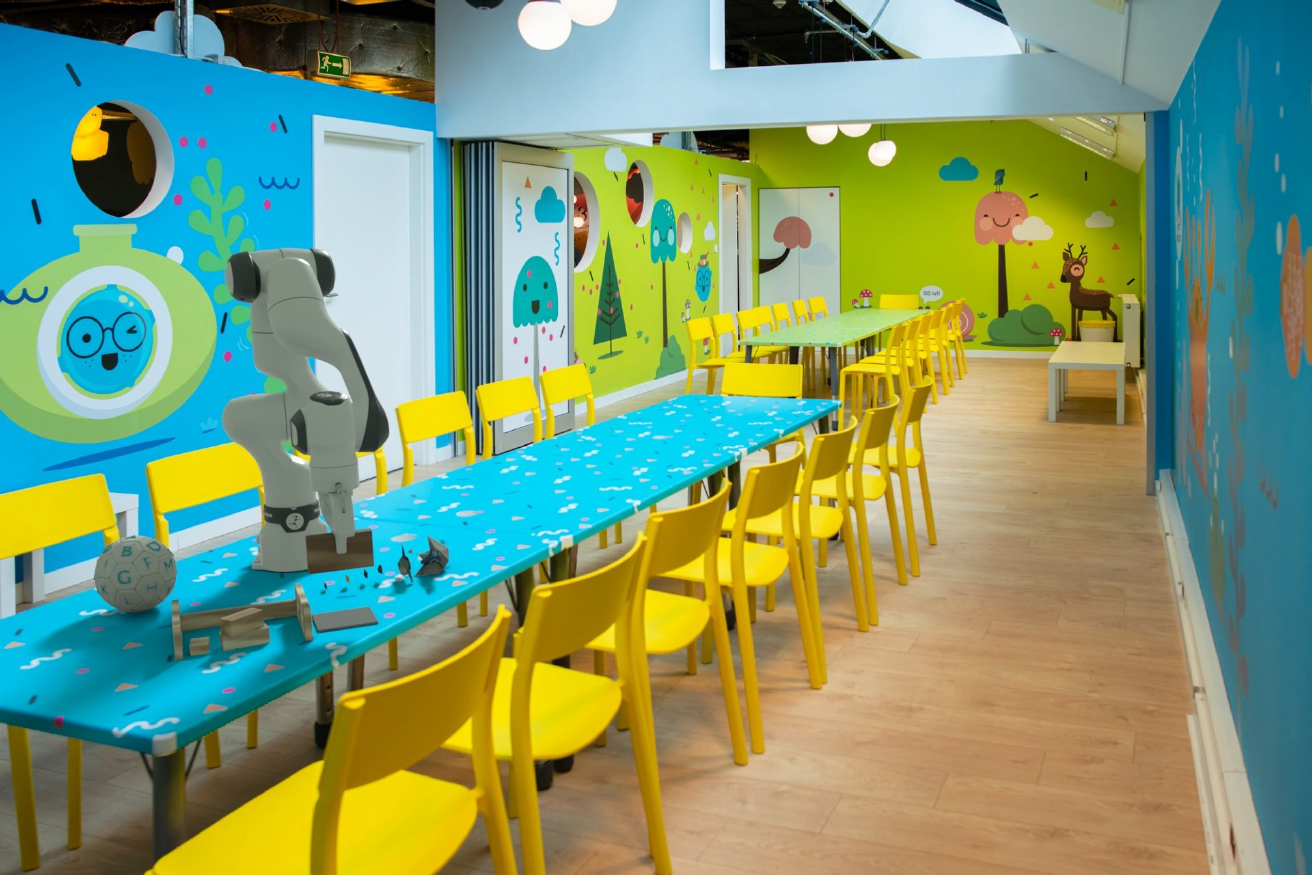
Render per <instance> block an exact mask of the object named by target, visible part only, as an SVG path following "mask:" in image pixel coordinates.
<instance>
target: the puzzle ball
mask: <svg viewBox="0 0 1312 875" xmlns="http://www.w3.org/2000/svg"><path fill="white" fill-rule="evenodd" d="M174 557H175V555H174V554H173V552H172V551H171V549H169V548H168V547H167V546H166V545H165V544H164V543H163V542H162V541H159V540H158V539H156V538H154V537H149V536H147V535H146V536H144V535H135V534H134V535H133V534H132V535H129V536H125V537H122V538H120V539H117V540H115V541H114V542H111V543H109V544H108V545H107V546H106V547H105V548H104V549H103V550H102V552H101V553H100V555H99V556H98V558H97V560H96V564H95V568H94V575H93V581H94V586H95V589H96V593H97V594H98V595H99V596H100V597H101V599H102V600H103V601H104V602H105V603H106V604H108V605H109V606H111V607H113V608H115V609H118V610H121V611H123V612H128V613H140V612H145V611H148V610H152V609H154V608H156V607H157V606H159V605H160V604H162V603H163V602H165V600H166V599H167V598H168V597H169V596H170V595H171V593H172V592H173V590H174V588H175V586H176V581H177V574H178V567H177V563H176V562H177V561H176V558H174Z"/></svg>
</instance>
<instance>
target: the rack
mask: <svg viewBox="0 0 1312 875" xmlns="http://www.w3.org/2000/svg"><path fill="white" fill-rule="evenodd" d="M293 586H294V598H293V599H286V600H277V601H272V602H270V601H269V602H263V603H257V604H247V605H242V606H240V605H239V606H234V607H233V606H232V607H225V608H219V609H218V608H217V609H210V610H204V611H197V612H189V613H188V612H187V613H181V609H180V599H172V600H171V620H172V621H171V622H172V624H171V625H172V629H171V630H172V636H173V637H172V638H173V639H172V640H173V649H174V656H175V657H174V659H175V661H182V660H183V659H184V652H183V651H184V650H183V632H190V631H195V630H202V629H204V630H205V629H211V628H217V626H219V627H221V626H220V618H223V617H226V616H229V615H232V614H235V613H237V612H240V611H243V610H246V609H249V608H257V609H261V610H263V617H264V621H267V620H273V619H274V618H276V619H280V618H281V619H282V618H289V616H290V617H297V619H298V621H299V624H300V626H301V630H302V633H303V636H304V639H305V641H306V642H309V641H313V640H314V633H313V621H312V620H313V618H312V609H311V606H310V604H309V600H308V598H307V595H306V593H305V590H304V588H303V586H302V584H301V583H294V585H293Z"/></svg>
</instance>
